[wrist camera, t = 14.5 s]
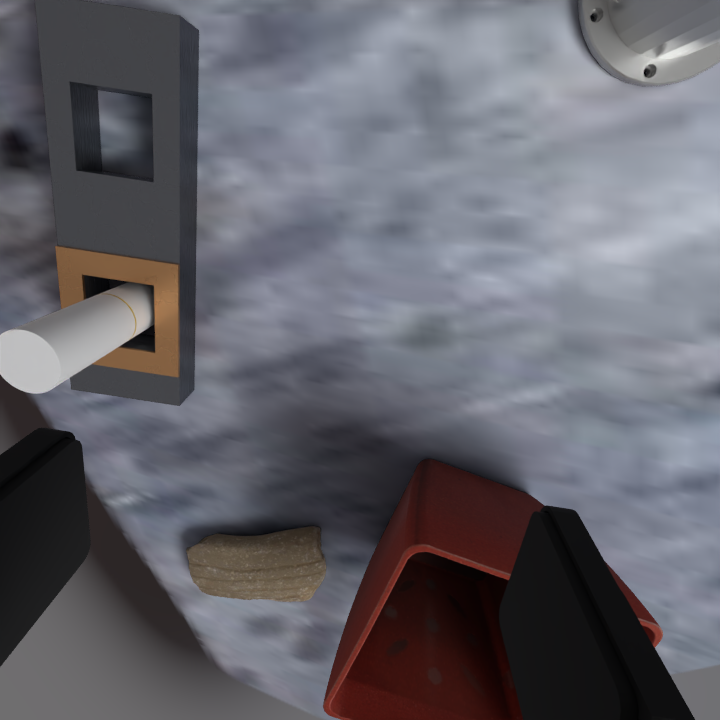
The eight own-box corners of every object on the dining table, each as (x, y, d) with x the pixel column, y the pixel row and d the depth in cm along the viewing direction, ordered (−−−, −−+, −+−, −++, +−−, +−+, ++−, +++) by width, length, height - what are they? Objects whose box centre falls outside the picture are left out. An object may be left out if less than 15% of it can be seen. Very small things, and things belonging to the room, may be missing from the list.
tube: (154, 273, 42) (38, 321, 28) (174, 318, 44) (73, 384, 30) (112, 286, 43) (-21, 339, 29) (133, 329, 44) (15, 400, 30)
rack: (66, 10, 35) (30, -9, 32) (198, 30, 35) (177, 14, 32) (93, 374, 46) (69, 390, 43) (194, 389, 46) (178, 407, 43)
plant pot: (338, 557, 53) (317, 717, 37) (403, 417, 46) (411, 542, 30) (493, 608, 54) (536, 783, 39) (578, 481, 48) (671, 630, 32)
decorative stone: (187, 527, 53) (174, 549, 50) (323, 519, 52) (319, 542, 48) (207, 593, 56) (196, 618, 53) (335, 587, 55) (332, 613, 52)
